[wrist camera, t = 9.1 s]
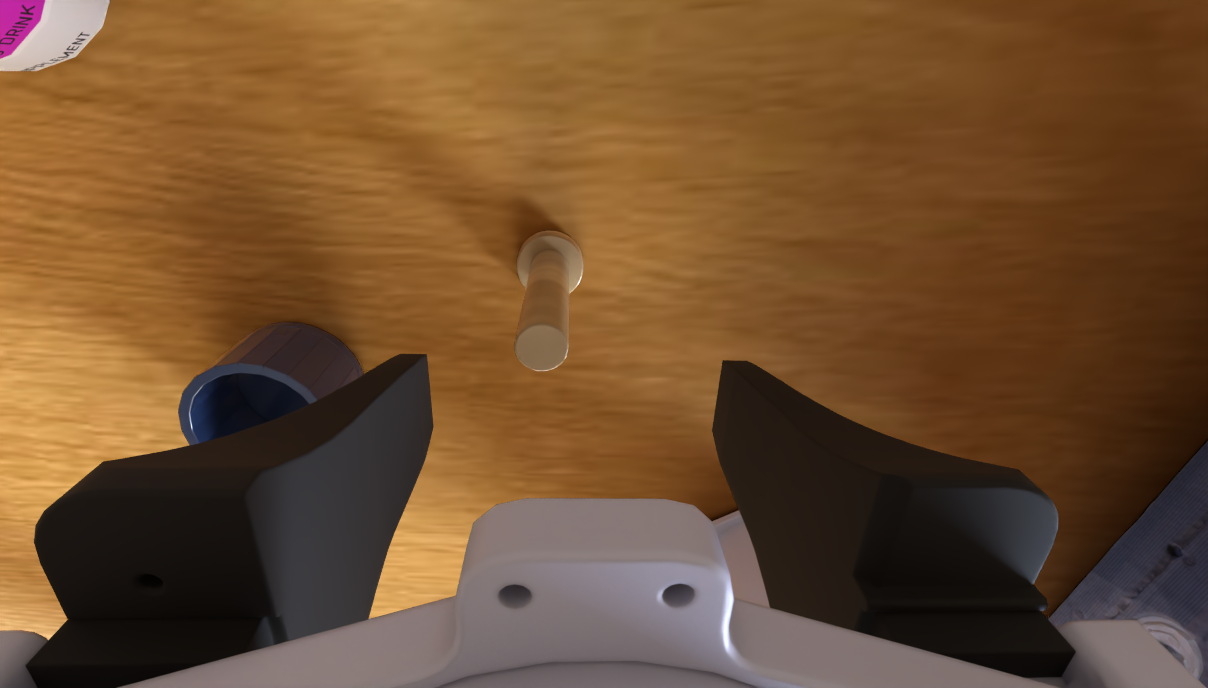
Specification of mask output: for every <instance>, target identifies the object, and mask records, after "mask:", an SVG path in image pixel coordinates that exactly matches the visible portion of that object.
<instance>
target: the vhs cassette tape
mask: <svg viewBox="0 0 1208 688" xmlns="http://www.w3.org/2000/svg"><path fill="white" fill-rule="evenodd" d="M1048 620H1049V621H1050V622H1051V623H1052V624H1053V626H1054V627H1055V628H1056V629H1058V628H1059V627H1060V626H1062V625H1064V624H1066V623H1067V622H1071V621H1077V620H1135V621H1138V622H1139V623H1140V624H1141V625H1142V626H1143V627H1144V628H1145V629H1146V630H1147V631H1148V632H1149V633H1150V634H1151V635H1152V636H1153V637H1154V638H1155V639H1156V640H1157V641H1158V642H1159V643H1160V644H1161V645H1162V646H1164V647H1165V648H1166V649H1167V650H1168V651H1169V652H1170V653H1171V654H1172V655H1173V656H1174V657H1175V658H1176V659H1177V660H1178V661H1179V662H1180V663H1181V664H1182V665H1183V666H1184V667H1185V668H1186V669H1187V670H1188V671H1189V672H1190V673H1191V674H1192V675H1194V676H1195V677H1196V678H1197V679H1198V680H1199V681H1200V682H1201V683H1202V684H1203V685H1204V686H1205V687H1206V688H1208V441H1207V442H1206V443H1205V445H1204V446H1203V447H1202V448H1201V449H1200V450H1199V451H1198V452H1197V453H1196V454H1195V456H1194V457H1193V458H1192V459H1191V460H1190V461H1189V462H1188V463H1187V464H1186V466H1185V467H1184V468H1183V469H1182V470H1181V471H1180V472H1179V473H1178V474H1177V475H1176V476H1175V478H1174V479H1173V480H1172V481H1171V482H1170V483H1169V485H1168V486H1167V487H1166V488H1165V489H1164V490H1163V492H1162V493H1161V494H1160V495H1159V496H1158V498H1157V499H1156V500H1155V501H1153V502H1152V503H1151V504H1150V506H1149V507H1148V508H1147V510H1146V511H1145V512H1144V514H1143V515H1142V516H1141V517H1140V518H1139V519H1138V520H1137V521H1136V523H1135V524H1134V525H1132V526H1131V527H1130V528H1129V529H1128V530H1127V531H1126V532H1125V533H1124V534H1123V536H1122V537H1121V538H1120V539H1119V540H1118V541H1117V542H1116V543H1115V544H1114V545H1113V547H1112V548H1111V549H1110V550H1109V551H1108V552H1107V554H1106V555H1105V556H1104V557H1103V558H1102V559H1101V560H1100V562H1099V563H1098V564H1097V565H1096V566H1095V567H1094V568H1093V570H1092V571H1091V572H1090V573H1089V574H1088V575H1087V576H1086V577H1085V578H1084V580H1083V581H1082V582H1081V583H1080V584H1079V585H1078V586H1077V587H1076V588H1075V590H1074V591H1073V592H1072V593H1071V594H1070V596H1069V597H1068V598H1067V599H1066V600H1065V601H1064V602H1063V603H1062V604H1061V605H1060V606H1059V607H1058V609H1057V610H1056V611H1055V612H1054V613H1053V614H1052V615H1051V616H1050V618H1049V619H1048Z"/></svg>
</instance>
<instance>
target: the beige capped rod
mask: <svg viewBox="0 0 1208 688" xmlns="http://www.w3.org/2000/svg"><path fill="white" fill-rule="evenodd" d="M516 267H517V274H518V277H519V279H520V281H521V283H522V284H523V286H524V287H525V288H526V290H525V295H524V300H523V304H522V309H521V314H520V319H519V323H518V328H517V333H516V338H515V343H514V350H515V354H516V356H517V358H518V359H519V361H520V362H521V363H522V364H523V365H524V366H526V367H528V368H529V369H532V370H535V371H549V370H552V369H554V368H556V367H558V366H559V365H560V364H561V363H563V361H564V360H565V358H566V357H567V354H568V349H569V293H570V292H572V291H573V290H574V289H575V288H576V287H577V285H578V284H579V282H580V281H581V278H582V275H583V257H582V253H581V250H580V248H579V247H578V245H577V244H576V242H575V241H574V240H573V239H572V238H570V237H569V236H568V235H566V234H564V233H561V232H558V231H542V232H538V233H536V234H534V235H532V236H531V237H529V238H528V239H527V240H526V241H525V242H524V244H523V245H522V247H521V249H520V252H519V255H518V258H517V266H516Z"/></svg>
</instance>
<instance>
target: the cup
mask: <svg viewBox="0 0 1208 688" xmlns="http://www.w3.org/2000/svg"><path fill="white" fill-rule="evenodd" d="M362 375H363V372H362V369H361V367H360V365H359V363H358V361H357V359H356V358H355V356H354V355H353V353H352V352H351V351H350V350H349V349H348V348H347V347H346V346H345V345H344V344H343V343H342V342H341V341H340V340H338V339H337V338H335V337H334V336H333V335H331V334H329V333H327V332H326V331H324V330H321V329H319V328H317V327H314V326H310V325H307V324H302V323H295V322H279V323H272V324H269V325H265V326H262V327H260V328H258V329H256V330H254V331H253V332H251V333H250V334H249V335H247V336H246V337H244V338H243V339H241V340H240V341H239V342H238V343H236V344H235V345H234V346H233V347H231V348H230V349H229V350H228V351H226V352H225V353H224V354H223V355H221V356H220V357H219V358H218V359H217V360H215V361H214V362H213V363H212V364H210V365H209V366H208V367H207V368H205V369H204V370H203V371H202V372H200V373H199V374H198V375H197V376H195V377H194V378H193V380H192V381H191V382H190V383H189V385H188V386H187V387H186V388H185V390H184V391H183V393H182V397H181V401H180V405H179V409H178V413H179V419H180V425H181V430H182V432H183V434H184V436H185V438H186V439H187V441H188V443H189V445H194V444H198V443H202V442H206V441H209V440H213V439H217V438H220V437H224V436H227V435H231V434H234V433H237V432H240V431H243V430H246V429H248V428H251V427H254V426H257V425H260V424H263V423H266V422H269V421H272V420H274V419H277V418H279V417H282V416H284V415H287V414H289V413H291V412H294V411H296V410H298V409H301V408H303V407H305V406H307V405H309V404H311V403H313V402H315V401H317V400H319V399H321V398H323V397H325V396H327V395H328V394H330V393H332V392H334V391H336V390H338V389H340V388H342V387H343V386H345V385H347V384H349V383H350V382H352V381H354V380H356V379H357V378H359V377H361V376H362Z"/></svg>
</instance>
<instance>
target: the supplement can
mask: <svg viewBox="0 0 1208 688" xmlns="http://www.w3.org/2000/svg"><path fill="white" fill-rule="evenodd" d="M109 2H110V0H0V71H38V70H41V69H44V68H47V67H49V66H52V65H55V64H58V63H60V62H63V61H66V60H69V59H71V58H74V57H76V56H77V55H78V54H79V53H80V52H81V50H82V49H83V48H84V47H85V46H86V45H87V44H88V43H89V42H90V40H91V39H92V38H93V37H94V36H95V35H96V34H97V33H98V32H99V31H100V29H101V28H102V27H103V24H104V21H105V17H106V13H107V10H108V6H109Z"/></svg>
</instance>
